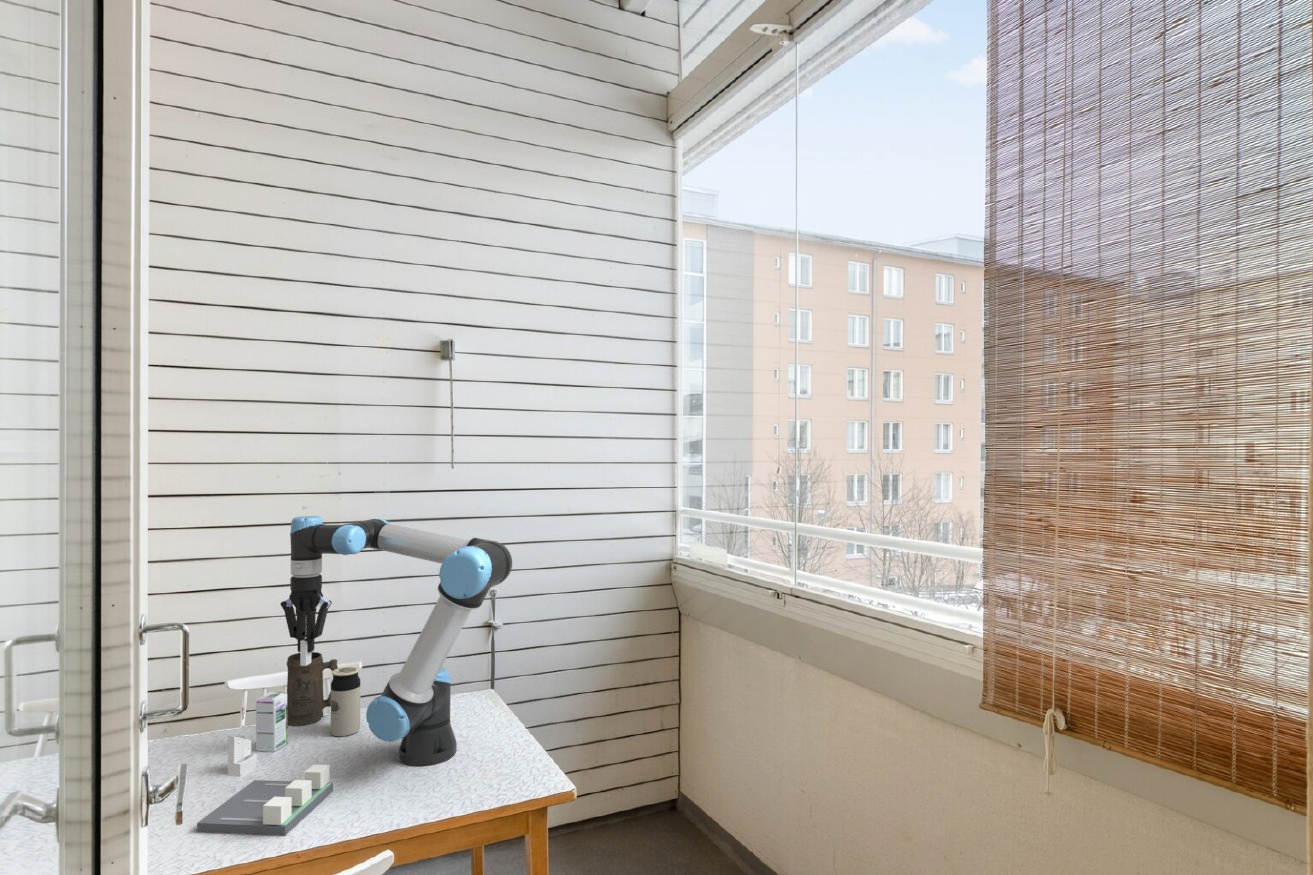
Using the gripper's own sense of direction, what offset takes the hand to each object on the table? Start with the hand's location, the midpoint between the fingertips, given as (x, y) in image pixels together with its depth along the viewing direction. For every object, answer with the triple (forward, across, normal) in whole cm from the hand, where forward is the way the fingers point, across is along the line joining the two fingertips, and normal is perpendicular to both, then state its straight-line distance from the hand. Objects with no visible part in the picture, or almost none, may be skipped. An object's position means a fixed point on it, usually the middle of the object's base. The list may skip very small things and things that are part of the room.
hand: (305, 664), depth 190 cm
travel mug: (+27, 0, +21) cm, 34 cm away
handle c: (+24, +11, -32) cm, 41 cm away
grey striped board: (+26, +4, -24) cm, 36 cm away
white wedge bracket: (+27, -14, -4) cm, 31 cm away
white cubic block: (+24, +12, -24) cm, 36 cm away
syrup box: (+27, -15, +10) cm, 32 cm away
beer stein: (+27, -15, +31) cm, 43 cm away
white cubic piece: (+24, +12, -16) cm, 31 cm away
